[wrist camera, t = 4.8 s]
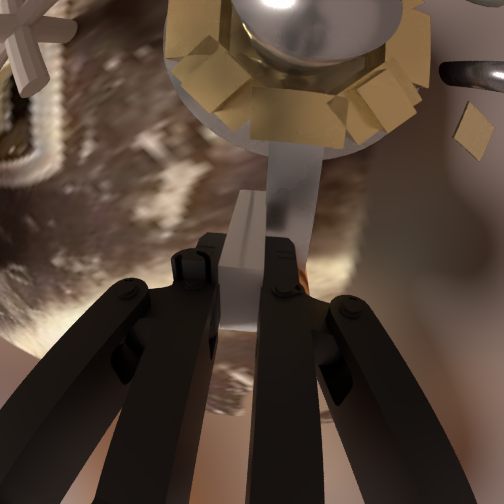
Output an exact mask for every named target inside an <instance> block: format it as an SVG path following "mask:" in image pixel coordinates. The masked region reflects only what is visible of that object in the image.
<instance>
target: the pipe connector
mask: <svg viewBox="0 0 504 504" xmlns="http://www.w3.org/2000/svg"><path fill="white" fill-rule="evenodd" d="M57 1H58V0H26V1H25V0H0V70H1V68H2V67H3V65H4V64H5V62H6V61H7V59H8V58H9V62H10V65H11V69H12V72H13V75H14V78H15V81H16V84H17V87H18V90H19V93H20V96H21V98H27V97H29V96H32V95H34V94H36V93H37V92H39V91H40V90H41V89H42V88H44V87H45V86H46V85H47V83H48V82H49V80H50V76H49V74H48V71H47V68H46V66H45V63H44V60H43V58H42V55H41V52H40V49H39V46H38V43H37V42H47V43H67V42H69V41H70V40H71V39H72V38H73V37H74V36H75V34H76V32H77V28H78V25H77V22H76V21H74V20H69V19H63V18H56V17H48V16H43V15H44V14H45V13H46V12H47V11H48V10H49V9H50V8H51V7H52V6H53V5H54V4H55V3H56V2H57Z"/></svg>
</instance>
